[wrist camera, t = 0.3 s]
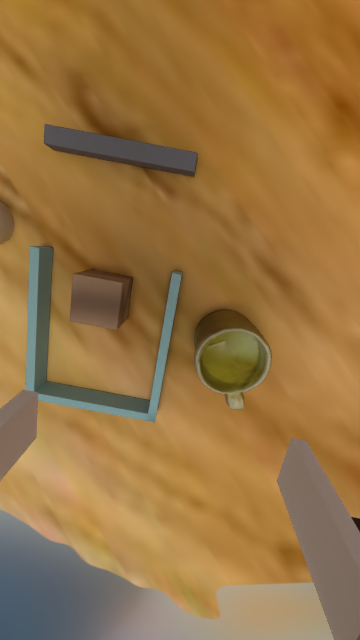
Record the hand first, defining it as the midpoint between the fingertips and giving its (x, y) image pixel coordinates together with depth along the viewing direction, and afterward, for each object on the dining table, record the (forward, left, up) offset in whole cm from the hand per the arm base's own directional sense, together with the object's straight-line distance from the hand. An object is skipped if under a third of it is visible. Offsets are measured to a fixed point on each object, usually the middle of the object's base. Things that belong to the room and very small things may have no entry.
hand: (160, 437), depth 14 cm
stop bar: (-19, -11, -26) cm, 34 cm away
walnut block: (-1, -11, -26) cm, 28 cm away
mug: (+4, +7, -26) cm, 28 cm away
